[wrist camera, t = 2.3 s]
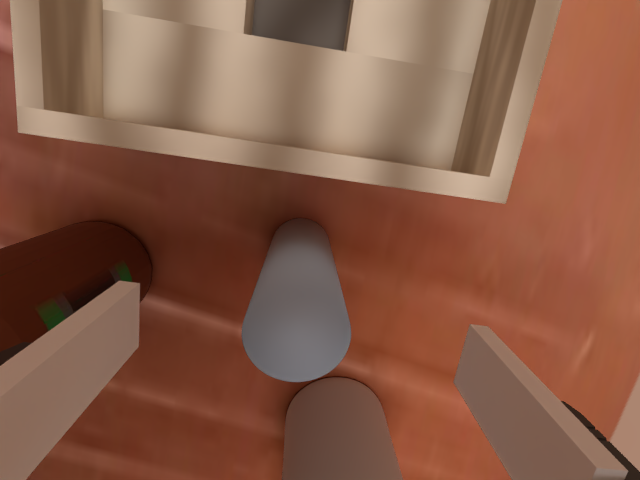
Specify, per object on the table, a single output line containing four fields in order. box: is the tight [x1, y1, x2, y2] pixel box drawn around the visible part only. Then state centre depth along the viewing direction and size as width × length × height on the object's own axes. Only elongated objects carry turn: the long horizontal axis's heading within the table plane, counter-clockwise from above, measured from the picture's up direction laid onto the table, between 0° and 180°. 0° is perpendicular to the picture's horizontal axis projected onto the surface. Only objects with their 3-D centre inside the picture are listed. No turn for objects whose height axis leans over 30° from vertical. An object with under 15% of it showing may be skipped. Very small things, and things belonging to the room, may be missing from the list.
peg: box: [242, 218, 351, 382], centre depth 21 cm, size 4×4×13 cm
